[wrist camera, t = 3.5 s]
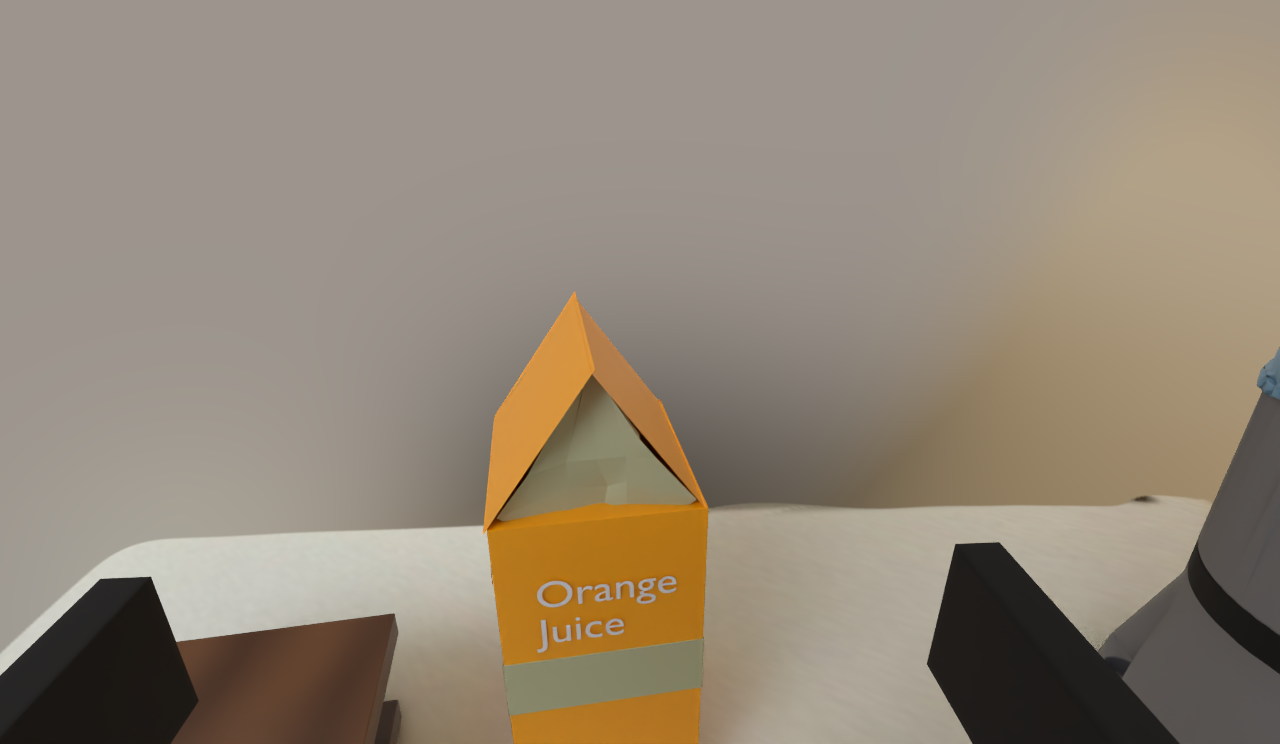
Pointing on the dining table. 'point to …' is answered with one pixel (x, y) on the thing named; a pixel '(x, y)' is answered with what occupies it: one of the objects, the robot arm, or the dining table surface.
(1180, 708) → the robot arm
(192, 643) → the stand
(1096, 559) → the dining table surface
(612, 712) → the orange juice
